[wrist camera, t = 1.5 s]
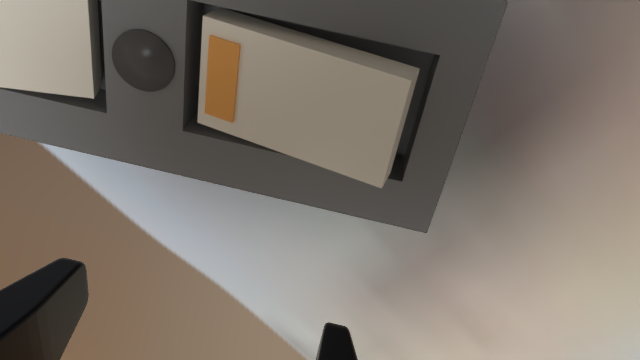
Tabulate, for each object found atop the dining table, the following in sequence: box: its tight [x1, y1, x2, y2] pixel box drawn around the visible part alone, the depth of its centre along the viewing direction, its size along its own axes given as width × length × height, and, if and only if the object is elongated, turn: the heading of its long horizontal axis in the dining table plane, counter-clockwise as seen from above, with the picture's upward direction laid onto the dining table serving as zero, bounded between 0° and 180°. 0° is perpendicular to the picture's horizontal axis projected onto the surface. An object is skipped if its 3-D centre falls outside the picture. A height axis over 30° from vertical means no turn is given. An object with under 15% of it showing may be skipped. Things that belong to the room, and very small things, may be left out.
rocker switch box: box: [0, 0, 508, 233], centre depth 19 cm, size 20×8×3 cm, turn 80°
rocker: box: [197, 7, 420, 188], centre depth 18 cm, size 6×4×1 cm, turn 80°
